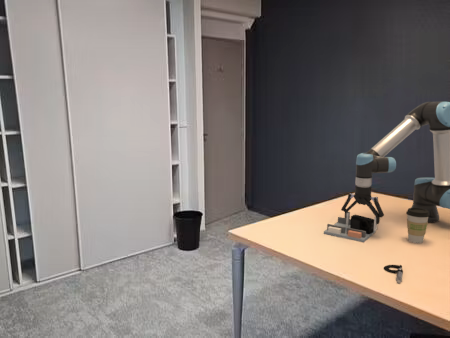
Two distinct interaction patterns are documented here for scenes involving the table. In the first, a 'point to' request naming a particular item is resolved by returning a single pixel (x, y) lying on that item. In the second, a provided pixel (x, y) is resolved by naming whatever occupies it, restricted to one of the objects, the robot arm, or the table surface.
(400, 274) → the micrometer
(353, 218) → the digital camera
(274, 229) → the table surface
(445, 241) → the table surface
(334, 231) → the docking board
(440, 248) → the table surface
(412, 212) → the coffee cup
